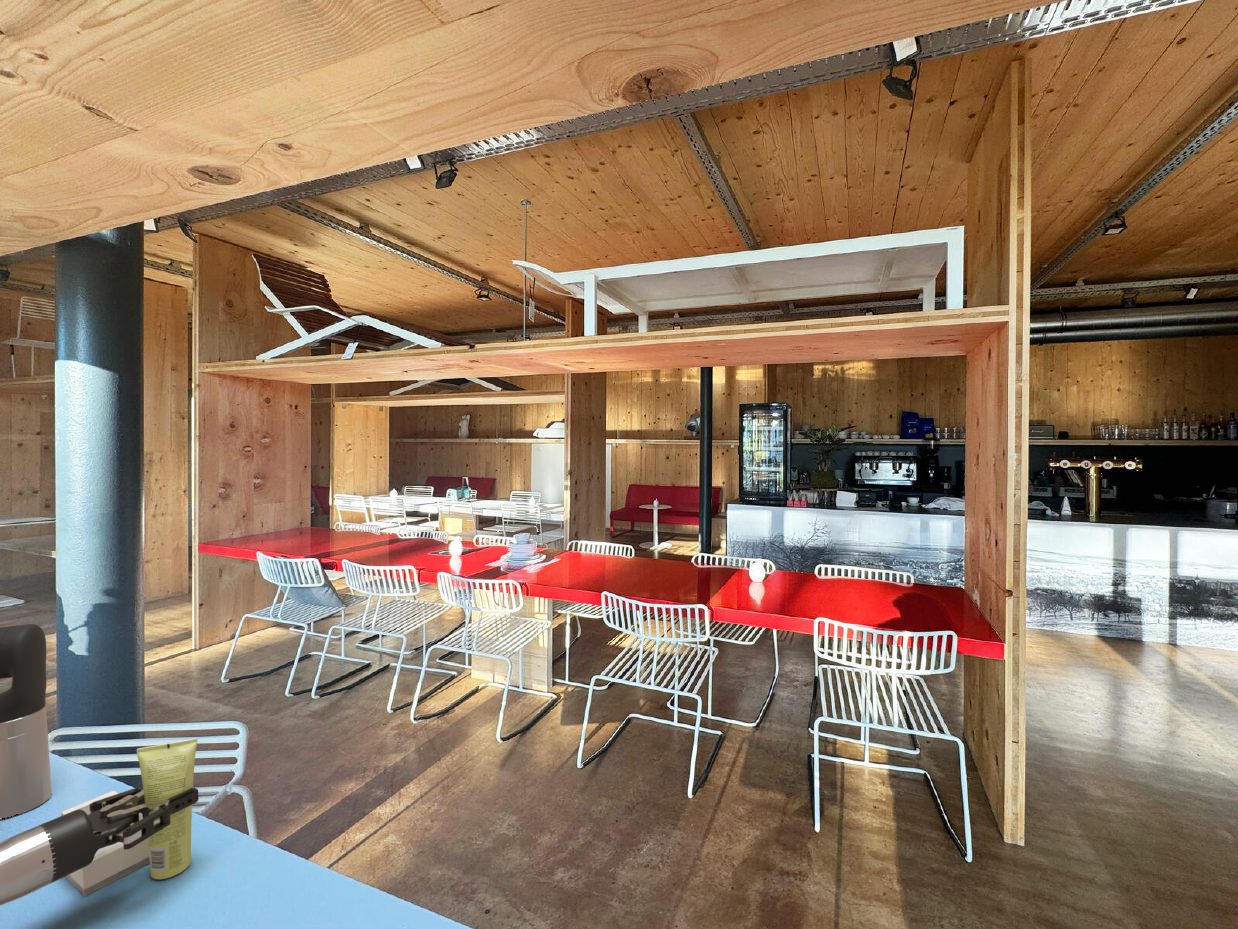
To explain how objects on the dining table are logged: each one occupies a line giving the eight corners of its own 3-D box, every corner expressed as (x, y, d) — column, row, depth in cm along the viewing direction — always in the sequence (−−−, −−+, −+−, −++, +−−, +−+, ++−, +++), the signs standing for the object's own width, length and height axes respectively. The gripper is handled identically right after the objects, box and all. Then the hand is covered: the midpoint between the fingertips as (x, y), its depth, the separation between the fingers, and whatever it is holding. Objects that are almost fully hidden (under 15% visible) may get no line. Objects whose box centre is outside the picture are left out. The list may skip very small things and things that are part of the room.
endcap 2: (56, 867, 90) (54, 839, 90) (142, 827, 100) (140, 801, 100) (84, 896, 84) (82, 866, 84) (173, 850, 94) (172, 822, 93)
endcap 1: (62, 838, 98) (61, 812, 97) (115, 815, 103) (114, 790, 103) (78, 852, 94) (76, 825, 94) (131, 827, 100) (130, 801, 100)
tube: (183, 852, 93) (177, 731, 92) (203, 860, 91) (197, 737, 90) (142, 876, 88) (136, 748, 87) (162, 885, 86) (156, 755, 85)
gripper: (57, 846, 73) (210, 777, 87) (21, 812, 80) (167, 754, 95) (61, 904, 73) (212, 826, 88) (25, 865, 81) (170, 799, 95)
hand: (188, 789), depth 91 cm, fingers closed on tube, 4 cm apart
